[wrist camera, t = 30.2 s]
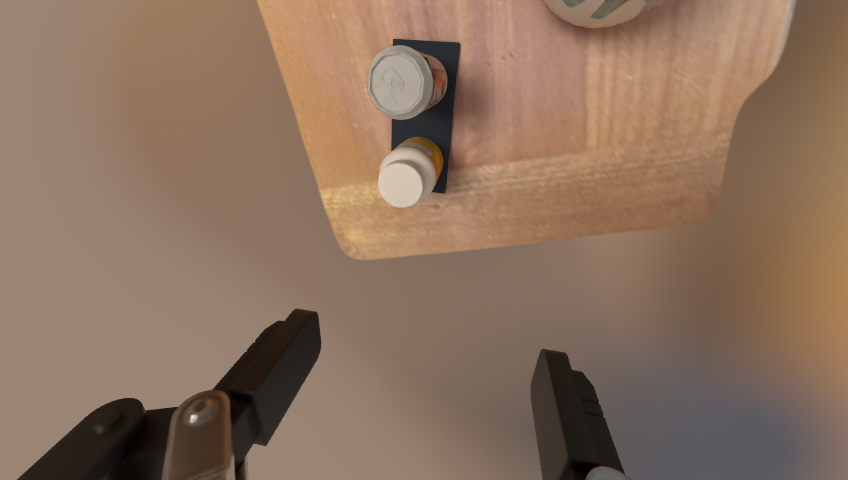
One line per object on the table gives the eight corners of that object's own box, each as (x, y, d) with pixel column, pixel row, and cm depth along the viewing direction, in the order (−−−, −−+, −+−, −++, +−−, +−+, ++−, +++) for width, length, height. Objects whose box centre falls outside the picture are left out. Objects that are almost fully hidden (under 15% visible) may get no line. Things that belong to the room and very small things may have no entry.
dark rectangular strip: (394, 39, 32) (393, 38, 32) (459, 43, 32) (458, 42, 31) (391, 186, 39) (390, 187, 39) (445, 192, 38) (444, 193, 38)
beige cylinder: (424, 117, 35) (397, 135, 24) (391, 82, 34) (348, 84, 23) (457, 82, 33) (445, 84, 22) (424, 43, 32) (394, 25, 21)
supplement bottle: (431, 192, 38) (416, 225, 29) (389, 171, 38) (361, 199, 29) (451, 149, 36) (441, 172, 27) (406, 127, 35) (382, 143, 27)
